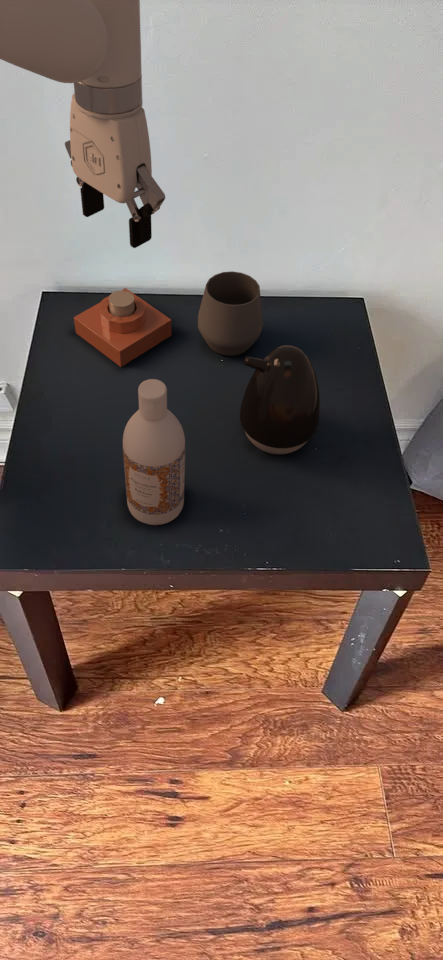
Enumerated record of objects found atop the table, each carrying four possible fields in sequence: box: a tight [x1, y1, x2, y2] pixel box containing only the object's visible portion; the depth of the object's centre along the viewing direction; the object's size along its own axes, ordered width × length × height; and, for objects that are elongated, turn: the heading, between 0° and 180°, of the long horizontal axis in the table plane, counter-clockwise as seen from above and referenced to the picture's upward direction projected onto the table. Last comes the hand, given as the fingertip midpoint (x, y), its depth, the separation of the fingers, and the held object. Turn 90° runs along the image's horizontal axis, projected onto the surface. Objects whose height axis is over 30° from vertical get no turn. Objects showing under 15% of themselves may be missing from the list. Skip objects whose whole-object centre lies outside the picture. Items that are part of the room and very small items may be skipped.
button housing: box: [73, 287, 172, 368], centre depth 109 cm, size 10×10×5 cm
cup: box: [197, 270, 264, 357], centre depth 107 cm, size 10×9×10 cm
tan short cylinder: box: [108, 290, 135, 317], centre depth 107 cm, size 4×4×2 cm
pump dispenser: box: [239, 344, 321, 455], centre depth 94 cm, size 10×10×15 cm
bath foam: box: [121, 378, 186, 526], centre depth 84 cm, size 7×7×20 cm
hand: (116, 227), depth 97 cm, fingers open, 8 cm apart
